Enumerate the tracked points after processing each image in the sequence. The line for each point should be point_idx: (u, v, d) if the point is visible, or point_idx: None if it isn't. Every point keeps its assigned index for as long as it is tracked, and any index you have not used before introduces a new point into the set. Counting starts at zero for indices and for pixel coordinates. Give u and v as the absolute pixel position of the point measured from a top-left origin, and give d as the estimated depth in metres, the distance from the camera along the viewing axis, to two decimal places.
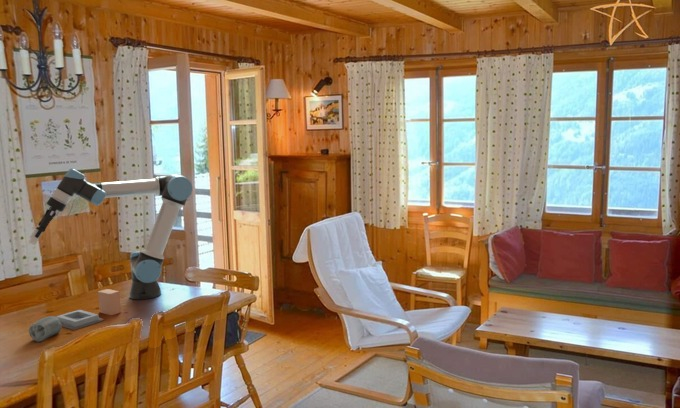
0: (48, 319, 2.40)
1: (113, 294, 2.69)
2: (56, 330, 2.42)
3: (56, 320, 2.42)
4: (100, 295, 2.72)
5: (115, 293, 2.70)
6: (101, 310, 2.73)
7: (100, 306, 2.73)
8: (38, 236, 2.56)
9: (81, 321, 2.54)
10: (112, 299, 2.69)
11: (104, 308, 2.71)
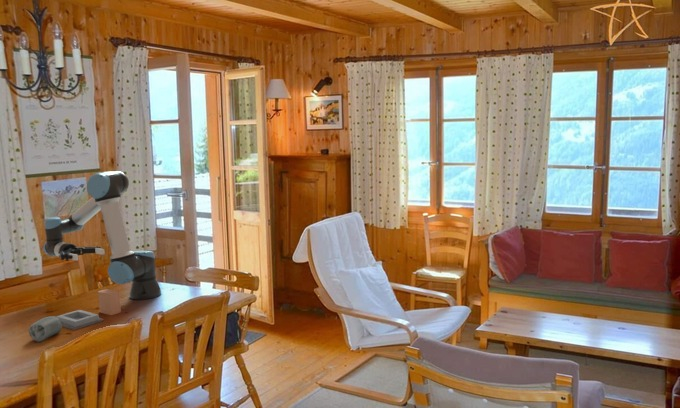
0: (48, 319, 2.40)
1: (113, 294, 2.69)
2: (56, 330, 2.42)
3: (56, 320, 2.42)
4: (100, 295, 2.72)
5: (115, 293, 2.70)
6: (101, 310, 2.73)
7: (100, 306, 2.73)
8: (69, 256, 2.72)
9: (81, 321, 2.54)
10: (112, 299, 2.69)
11: (104, 308, 2.71)
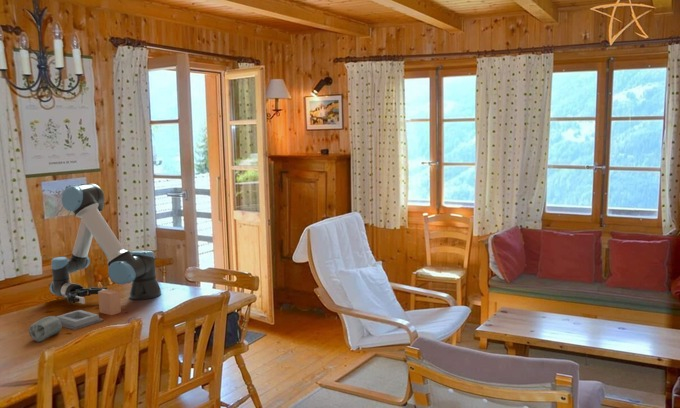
0: (48, 319, 2.40)
1: (113, 294, 2.69)
2: (56, 330, 2.42)
3: (56, 320, 2.42)
4: (100, 295, 2.72)
5: (115, 293, 2.70)
6: (101, 310, 2.73)
7: (100, 306, 2.73)
8: (76, 299, 2.73)
9: (81, 321, 2.54)
10: (112, 299, 2.69)
11: (104, 308, 2.71)
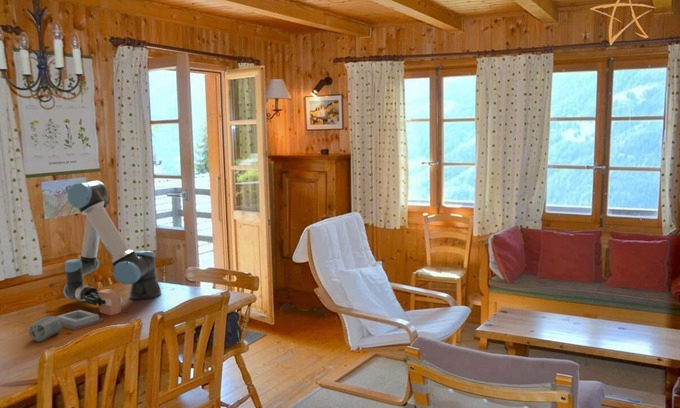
0: (48, 319, 2.40)
1: (113, 294, 2.69)
2: (56, 330, 2.42)
3: (56, 320, 2.42)
4: (100, 295, 2.72)
5: (115, 293, 2.70)
6: (101, 310, 2.73)
7: (100, 306, 2.73)
8: (102, 301, 2.68)
9: (81, 321, 2.54)
10: (112, 299, 2.69)
11: (104, 308, 2.71)
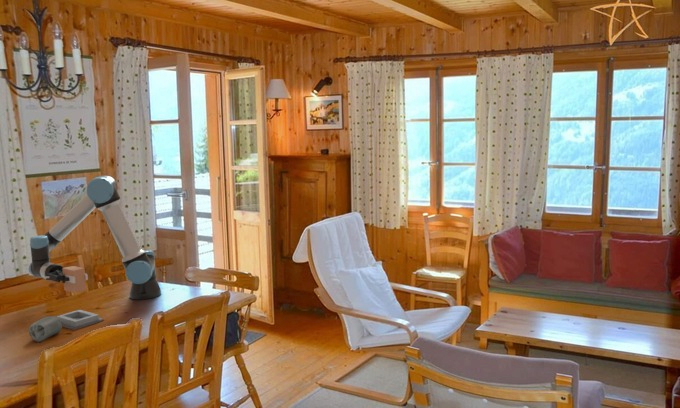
0: (48, 319, 2.40)
1: (77, 271, 2.55)
2: (56, 330, 2.42)
3: (56, 320, 2.42)
4: (64, 272, 2.58)
5: (80, 270, 2.56)
6: (65, 288, 2.59)
7: (64, 284, 2.59)
8: (65, 278, 2.54)
9: (81, 321, 2.54)
10: (76, 276, 2.55)
11: (69, 285, 2.57)
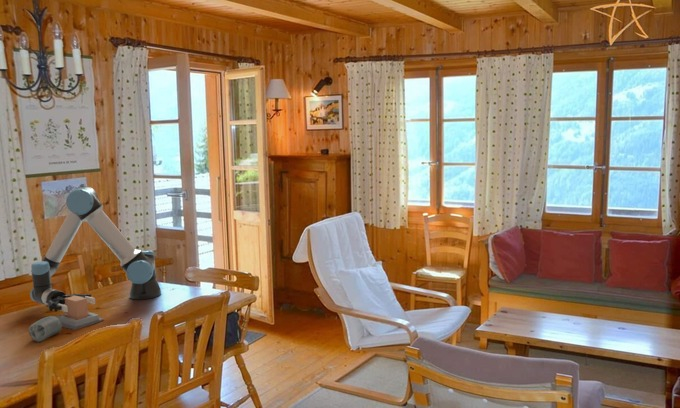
0: (48, 319, 2.40)
1: (80, 301, 2.56)
2: (56, 330, 2.42)
3: (56, 320, 2.42)
4: (66, 302, 2.59)
5: (82, 300, 2.57)
6: None
7: (67, 314, 2.60)
8: (58, 307, 2.53)
9: (81, 321, 2.54)
10: (79, 307, 2.56)
11: (71, 315, 2.58)
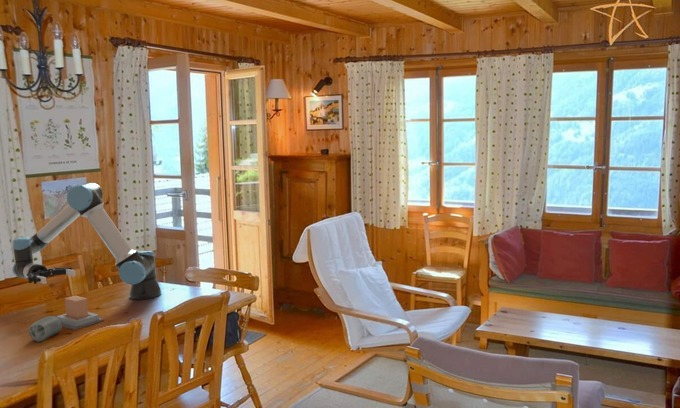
0: (48, 319, 2.40)
1: (80, 301, 2.56)
2: (56, 330, 2.42)
3: (56, 320, 2.42)
4: (66, 302, 2.59)
5: (82, 300, 2.57)
6: None
7: (67, 314, 2.60)
8: (36, 278, 2.59)
9: (81, 321, 2.54)
10: (79, 307, 2.56)
11: (71, 315, 2.58)
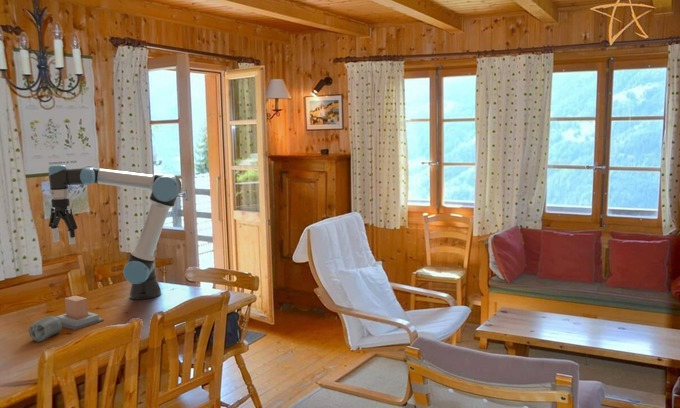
0: (48, 319, 2.40)
1: (80, 301, 2.56)
2: (56, 330, 2.42)
3: (56, 320, 2.42)
4: (66, 302, 2.59)
5: (82, 300, 2.57)
6: None
7: (67, 314, 2.60)
8: (74, 235, 2.73)
9: (81, 321, 2.54)
10: (79, 307, 2.56)
11: (71, 315, 2.58)
